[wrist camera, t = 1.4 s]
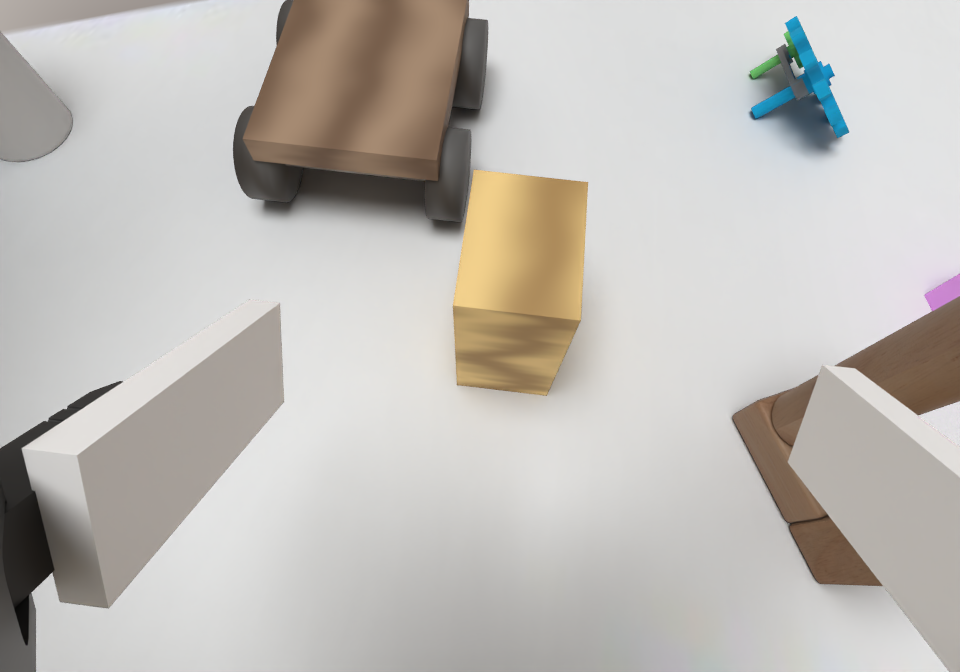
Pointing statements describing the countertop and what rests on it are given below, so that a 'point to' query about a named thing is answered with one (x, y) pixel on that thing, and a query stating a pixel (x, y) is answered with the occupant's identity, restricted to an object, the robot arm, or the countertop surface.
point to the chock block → (519, 280)
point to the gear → (801, 78)
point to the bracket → (944, 293)
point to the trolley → (366, 98)
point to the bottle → (28, 110)
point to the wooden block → (777, 419)
